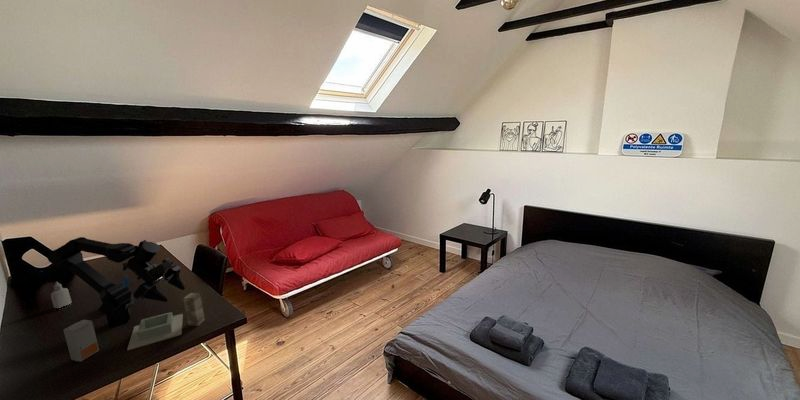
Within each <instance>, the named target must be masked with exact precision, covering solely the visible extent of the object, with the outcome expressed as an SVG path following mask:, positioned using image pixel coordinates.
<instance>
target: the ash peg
mask: <svg viewBox="0 0 800 400" xmlns="http://www.w3.org/2000/svg"><path fill="white" fill-rule="evenodd" d="M183 304H184V308H185V313H186V319H187V325H188V326H189V327H190V326H191V327H192V326H194V327H198V326H200V325H201V324H202V323H203V322H205V320H206V319H205V313H204V307H203V303H202V296H201V293H200V292H190V293H189V294H187V295H185V297H183Z"/></svg>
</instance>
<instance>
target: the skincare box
mask: <svg viewBox="0 0 800 400" xmlns="http://www.w3.org/2000/svg"><path fill="white" fill-rule="evenodd" d="M63 333H64V338H65V341H66V345H67V348H68V352H69V356H70V361H73V360H74V362H83V361H84V360H86V359H88V358H89V357H91V356H93V355H94V354H95V353H97V352H99V351H100V348H99V343H98V340H97V334H96V331H95V327H94V322H93V320H88V319H82V320H80V321H77V322H75V323H72V324H71V325H69V326H68V327H66V328H63Z"/></svg>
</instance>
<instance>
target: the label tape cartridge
mask: <svg viewBox="0 0 800 400" xmlns="http://www.w3.org/2000/svg"><path fill="white" fill-rule="evenodd" d="M119 283H123V284H124V285H125V286H126V287H128V288H129V290H130V291H131V292H132V289H131V283H130V278H129V277H128V275H127V274H126V273H124V279H123V280H121V281H120V282H118V283H117V284H119ZM134 304H135V301H134V295H132V297H131V302H130V303H128V304H127V307H130V306H133V305H134Z"/></svg>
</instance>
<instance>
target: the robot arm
mask: <svg viewBox="0 0 800 400" xmlns="http://www.w3.org/2000/svg"><path fill="white" fill-rule="evenodd" d="M160 249H161V247H160V246H159V244H157V243H155V242H154V241H153V242H152V241H147V240H146V239H144V240H141V241H140V242H139V243H138V245H134V244H132V243H131V242H130V243H129V242H127V243H126V242H125V243H124V242H120V243H118V242H117V243H109V242H105V241H103V242H102V241H99V240H95V239H89V238H86V237H84V236H82V237H81V236H80V237H76V238H74V239H70V240H69V241H67V242H66V243H65V244H63V245H61V246H59V247H58V248H56V249H53V250H50V251H49V252H48V255H47V261H48V262H49V263H50V264H52V265H54V266H55V267H57V268H60V269H66V270H69V271H71V272H72V273H73V274H74V275H75V276H77V277H78V278H79V279H81V280H82V281H83V282H84V283H86V284H87V285H88V286H89V287H91V288H92V289H93V290H94V291H96V292H97V293H99V298H100V302H101V303H102V304H101V305H100V307H98V311H99V313H100V314H101V315H104V314H105V316H106V320H107V328H109V329H110V328H112V327H116V326H120V325H121V326H122V325H123V324H128V323H129V321H130V320H131V317H132V314H131V309H130V306H127V304H128V303H130V302H131V297H132V296H133V298H134V299H136V300H140V299H141V300H143V299H144V300H145V299H147V300H155V301H159V302H164V303H167V302H168V300H169V299H168V298H167V297H166V296H165V295H164V294H163V293H161V292H160V291H159V290H158V288H157V285H158V284H160V283H162V282H164V281H167V283H168V284H170V285H171V286H174V287H175V288H177V289H179V290H182V291H184V290H185V289H186V287H185V286H184V284H183V282H182V280H181V278H180V273H181V269H182V268H181V267H180V266H179V264H177V265H174V261H173V260H172V259H171V258H169V257H167V258H165V259H163V260H162V261H161V262H162V263H160V264H157V263H153V264H151V263H150V262H151V261H152V260H153V259H154V258H155V256H157V254H158V253H159V251H160ZM83 252H85V253H90V254H94V255H99V256H104V257H106V259H107V260H108V261H112V262H113V263H118V264H119V263H122V262H124V263H122V265H123V266H122V270H123V271H127V270H130V271H131V272H132V273H134V274H135V275H136V276H137V278H136V279H137V280H138V281H141V280H143V281H144V282H143V283H141V284H139V285H138V287H137V288H135V290H134V292H132V290H131V291H130V290H129V288H128V287H126V286H125V285H124V284H123V283H120V282H118V283H119V284H118V283H117V284H116V283H112V282H111V281H110V280H109V279H107V278H106V277H105V276H104V275H102V274H101V273H100V272H98V271H97V270H96V269H95V268H94V267H92V266H91V265H90V264H88V263H87V262H86V261H85V260H84V258H83V257H84V256H83ZM127 260H128V261H127ZM125 261H126V262H125Z"/></svg>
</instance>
